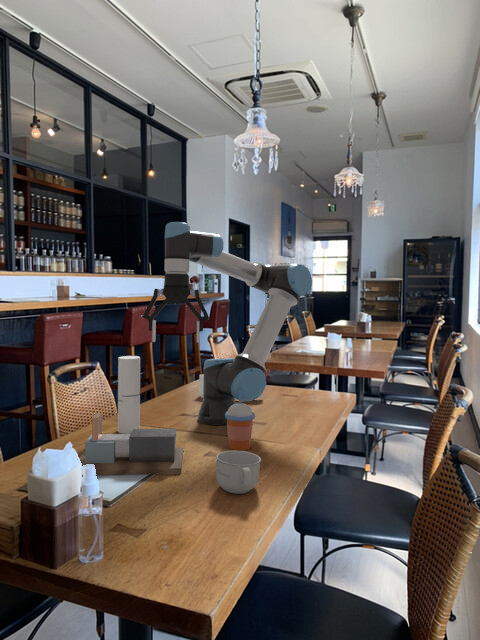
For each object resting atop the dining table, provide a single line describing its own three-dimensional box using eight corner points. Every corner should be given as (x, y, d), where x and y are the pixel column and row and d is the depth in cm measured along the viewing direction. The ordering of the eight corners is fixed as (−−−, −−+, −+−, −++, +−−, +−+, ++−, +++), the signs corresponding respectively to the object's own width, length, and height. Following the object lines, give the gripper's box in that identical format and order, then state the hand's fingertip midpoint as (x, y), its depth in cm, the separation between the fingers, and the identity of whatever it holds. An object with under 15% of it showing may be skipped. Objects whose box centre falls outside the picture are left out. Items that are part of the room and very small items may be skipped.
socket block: (118, 453, 129) (118, 434, 129) (113, 462, 122) (113, 442, 122) (91, 453, 128) (91, 434, 128) (85, 463, 121) (85, 442, 121)
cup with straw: (232, 454, 135) (233, 393, 134) (219, 445, 143) (220, 387, 142) (259, 450, 139) (260, 391, 138) (245, 441, 147) (246, 385, 146)
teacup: (214, 479, 116) (215, 448, 116) (257, 479, 117) (258, 448, 117) (216, 505, 102) (217, 470, 102) (264, 504, 103) (265, 469, 103)
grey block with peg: (142, 450, 129) (143, 412, 128) (140, 457, 124) (141, 417, 123) (95, 451, 127) (95, 412, 127) (91, 457, 122) (91, 417, 122)
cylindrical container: (134, 434, 151) (134, 359, 150) (114, 432, 153) (114, 358, 151) (142, 428, 158) (143, 356, 157) (123, 426, 160) (124, 355, 158)
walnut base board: (183, 452, 135) (183, 447, 135) (181, 473, 119) (181, 468, 119) (85, 453, 133) (85, 448, 133) (70, 475, 117) (70, 469, 117)
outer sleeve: (175, 453, 130) (175, 428, 130) (174, 462, 124) (174, 436, 123) (132, 453, 129) (132, 429, 129) (128, 462, 122) (129, 436, 122)
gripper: (216, 274, 147) (215, 341, 148) (137, 272, 144) (136, 340, 146) (217, 274, 139) (216, 343, 141) (134, 271, 137) (133, 342, 138)
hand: (175, 341), depth 143 cm, fingers open, 13 cm apart
